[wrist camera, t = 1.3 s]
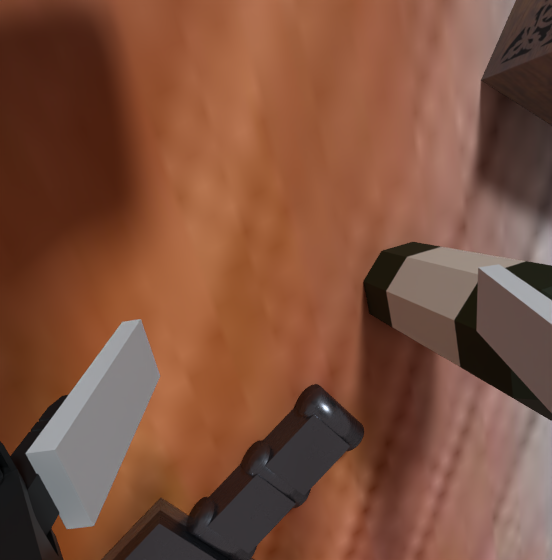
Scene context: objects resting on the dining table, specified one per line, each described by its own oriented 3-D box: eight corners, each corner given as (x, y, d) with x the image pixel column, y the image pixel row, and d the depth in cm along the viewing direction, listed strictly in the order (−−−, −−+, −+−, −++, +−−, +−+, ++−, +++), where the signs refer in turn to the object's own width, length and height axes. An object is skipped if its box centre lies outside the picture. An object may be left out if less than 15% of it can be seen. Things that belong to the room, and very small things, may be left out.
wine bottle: (391, 346, 38) (1027, 777, 10) (346, 279, 36) (1015, 588, 7) (456, 292, 39) (1239, 547, 10) (416, 223, 36) (1294, 302, 8)
